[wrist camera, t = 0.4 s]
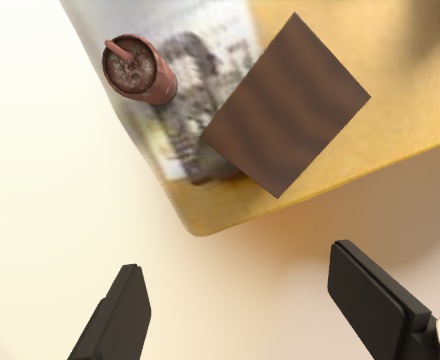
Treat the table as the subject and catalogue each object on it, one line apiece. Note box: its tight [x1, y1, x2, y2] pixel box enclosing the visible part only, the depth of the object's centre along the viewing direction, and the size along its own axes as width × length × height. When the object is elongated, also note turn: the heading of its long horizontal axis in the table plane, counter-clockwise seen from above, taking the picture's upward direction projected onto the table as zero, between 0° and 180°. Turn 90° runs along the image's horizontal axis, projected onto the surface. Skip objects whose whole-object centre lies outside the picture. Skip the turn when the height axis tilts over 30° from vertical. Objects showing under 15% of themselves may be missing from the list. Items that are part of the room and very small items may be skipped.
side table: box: [199, 12, 371, 199], centre depth 34 cm, size 20×16×7 cm
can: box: [102, 34, 178, 105], centre depth 27 cm, size 6×6×14 cm
